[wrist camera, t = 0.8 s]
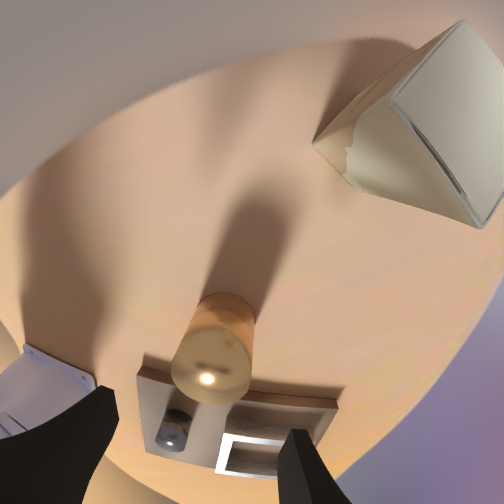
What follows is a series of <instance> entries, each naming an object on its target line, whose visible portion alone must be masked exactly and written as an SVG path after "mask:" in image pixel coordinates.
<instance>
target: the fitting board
mask: <svg viewBox="0 0 504 504" xmlns="http://www.w3.org/2000/svg"><path fill="white" fill-rule="evenodd" d="M136 376H137V388H138V399H139V408H140V417H141V424H142V431H143V438H144V444H145V450H146V452H148V453H151V454H154V455H158V456H161V457H165V458H168V459H172V460H176V461H180V462H184V463H189V464H193V465H198V466H203V467H208V468H213V469H216V470H215V473H220V474H227V475H234V476H242V477H250V478H261V479H275V480H278V478H277V470H278V454H279V452H280V450H281V448H282V446H283V444H284V442H285V440H286V438H287V436H288V434H289V432H290V430H291V428H294V429H306V430H307V431H308V433H309V435H310V437H311V439H312V441H313V444H314V446H315V448H316V446H317V445H318V443H319V442H320V440H321V438H322V437H323V435H324V433H325V432H326V430H327V428H328V427H329V425H330V423H331V422H332V420H333V418H334V416H335V415H336V413H337V411H338V409H339V408H338V405H337V401H336V399H324V398H309V397H298V396H288V395H279V394H270V393H263V392H256V391H249V390H248V391H247V393H246V394H245V395H244V396H243V397H242V398H240V399H239V400H237V401H235V402H232V403H229V404H223V405H211V404H205V403H201V402H198V401H196V400H194V399H192V398H190V397H188V396H187V395H185V394H184V393H183V392H182V391H180V389H179V388H178V387H177V386H176V385H175V383H174V381H173V379H172V377H171V374H168V373H164V372H160V371H157V370H153V369H150V368H146V367H143V366H141V368H140V370H139V372H138V373H137V375H136Z"/></svg>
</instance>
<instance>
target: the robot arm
mask: <svg viewBox="0 0 504 504" xmlns="http://www.w3.org/2000/svg"><path fill="white" fill-rule="evenodd" d="M23 350H24V353H23V354H21V355H20V356H19V357H18V358H17V359H16V360H15V361H14V362H13V363H12V364H10V365H9V366H8V367H7V368H6V369H5V370H4V371H3V372H2V373H1V374H0V504H82V501H83V498H84V495H85V492H86V489H87V486H88V484H89V481H90V479H91V477H92V475H93V473H94V471H95V469H96V467H97V465H98V463H99V461H100V460H101V458H102V456H103V454H104V453H105V451H106V449H107V447H108V445H109V443H110V441H111V440H112V438H113V435H114V432H115V430H116V427H117V424H118V422H119V416H118V411H117V405H116V400H115V394H114V390H113V389H110V388H107V387H105V386H102V385H100V386H99V387H97V388H96V387H95V382H94V378H93V377H92V375H90V374H88V373H86V372H84V371H81V370H79V369H77V368H74V367H72V366H70V365H68V364H65V363H63V362H61V361H59V360H57V359H55V358H53V357H51V356H49V355H47V354H45V353H43V352H41V351H39V350H37V349H35V348H33V347H31V346H29V345H28V344H24V345H23ZM277 478H278V491H279V503H280V504H352V503H351V502H350V501H349V500H348V498H347V497H346V496H345V495H344V494H343V492H342V491H341V489H340V488H339V486H338V485H337V484H336V482H335V481H334V479H333V478H332V476H331V475H330V473H329V471H328V470H327V468H326V466H325V464H324V463H323V461H322V459H321V457H320V455H319V453H318V452H317V450H316V448H315V446H314V444H313V441H312V439H311V437H310V435H309V433H308V431H307V430H306V429H294V428H291V430H290V432H289V434H288V436H287V438H286V440H285V442H284V444H283V446H282V448H281V450H280V452H279V454H278V470H277Z"/></svg>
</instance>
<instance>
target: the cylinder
mask: <svg viewBox="0 0 504 504" xmlns="http://www.w3.org/2000/svg"><path fill="white" fill-rule="evenodd" d="M254 325H255V318H254V314H253V311H252V309H251V308H250V306H249V305H248V304H247V303H246V302H245V301H244V300H243V299H241V298H240V297H238V296H235V295H233V294H228V293H217V294H213V295H210V296H208V297H206V298H205V299H204V300H203V301H202V302H201V303H200V304H199V306H198V307H197V309H196V312H195V314H194V316H193V318H192V320H191V322H190V324H189V326H188V328H187V330H186V332H185V335H184V337H183V339H182V341H181V343H180V345H179V347H178V349H177V351H176V354H175V356H174V358H173V360H172V363H171V367H170V371H171V377H172V379H173V381H174V383H175V385H176V386H177V387H178V388H179V389H180V391H182V392H183V393H184V394H185V395H187V396H188V397H190V398H192V399H194V400H196V401H198V402H201V403H205V404H211V405H223V404H229V403H232V402H235V401H237V400H239V399H240V398H242V397H243V396H244V395H245V394H246V393H247V391H248V389H249V387H250V384H251V372H252V356H253V341H254Z"/></svg>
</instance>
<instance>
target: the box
mask: <svg viewBox="0 0 504 504" xmlns="http://www.w3.org/2000/svg"><path fill="white" fill-rule="evenodd" d="M312 146H313V147H314V148H315V149H316V150H317V151H318V152H319V153H320V154H321V155H322V156H323V157H324V158H325V159H326V160H327V161H328V162H329V163H330V164H331V165H332V166H333V167H334V168H335V169H336V170H337V171H338V172H339V173H340V174H341V175H342V176H343V177H344V178H345V179H346V180H347V181H349V182H350V183H351V184H352V185H353V186H354V187H355V188H356V189H357V190H358V191H359V192H363V193H367V194H371V195H375V196H379V197H383V198H387V199H390V200H394V201H398V202H401V203H404V204H407V205H411V206H414V207H417V208H421V209H424V210H427V211H430V212H433V213H437V214H440V215H443V216H446V217H449V218H451V219H454V220H457V221H460V222H462V223H465V224H467V225H470V226H472V227H475V228H477V229H482V228H484V227H485V225H486V224H487V223H488V222H489V220H490V219H491V217H492V216H493V214H494V212H495V211H496V209H497V208H498V206H499V204H500V203H501V201H502V199H503V198H504V66H503V65H502V63H501V62H500V61H499V60H498V58H497V57H496V55H495V54H494V53H493V51H492V50H491V49H490V47H489V46H488V45H487V44H486V42H485V41H484V40H483V39H482V37H481V36H480V35H479V34H478V33H477V32H476V30H475V29H474V28H473V27H472V26H471V25H470V24H469V23H468V22H467V21H466V20H465V19H462V20H460V21H458V22H457V23H456V24H454V25H453V26H451V27H450V28H448V29H447V30H445V31H444V32H442V33H441V34H439V35H438V36H436V37H435V38H434V39H432V40H431V41H429V42H428V43H426V44H425V45H424V46H422V47H421V48H419V49H418V50H416V51H415V52H413V53H412V54H411V55H409V56H408V57H406V58H405V59H404V60H402V61H401V62H400V63H398V64H397V65H395V66H394V67H393V68H391V69H390V70H389V71H387V72H386V73H385V74H383V75H382V76H381V77H379V78H378V79H377V80H375V81H374V82H373V83H371V84H370V85H369V86H368V87H366V88H365V89H364V90H362V91H361V92H360V93H358V94H357V95H356V96H355V97H354V98H353V99H352V100H351V101H350V102H349V104H348V105H347V106H346V107H345V108H344V109H343V110H342V111H341V112H340V113H339V114H338V115H337V116H336V117H335V118H334V119H333V120H332V121H331V122H330V124H329V125H328V126H327V127H326V128H325V129H324V130H323V131H322V132H321V133H320V134H319V136H318V137H317V138H316V139H315V140H314V141H313V142H312Z"/></svg>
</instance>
